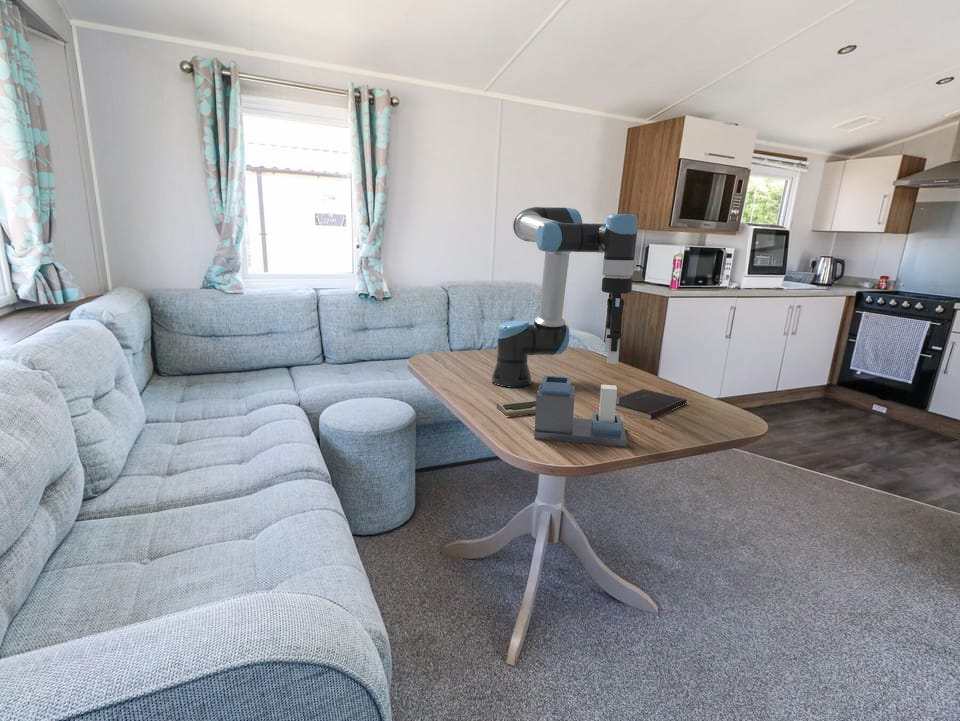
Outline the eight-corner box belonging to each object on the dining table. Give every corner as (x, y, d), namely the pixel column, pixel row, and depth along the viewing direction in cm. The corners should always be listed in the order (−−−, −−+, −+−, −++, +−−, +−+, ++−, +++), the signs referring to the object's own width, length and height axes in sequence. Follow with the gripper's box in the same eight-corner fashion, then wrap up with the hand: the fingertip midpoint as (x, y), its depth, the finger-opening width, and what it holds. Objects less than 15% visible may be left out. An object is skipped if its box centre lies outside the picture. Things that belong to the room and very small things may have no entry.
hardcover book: (606, 408, 159) (606, 401, 159) (642, 395, 174) (643, 388, 174) (651, 421, 148) (651, 414, 147) (686, 405, 163) (686, 399, 162)
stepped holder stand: (534, 438, 131) (536, 385, 128) (538, 421, 144) (540, 372, 141) (626, 447, 126) (631, 392, 123) (621, 428, 140) (626, 378, 136)
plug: (598, 430, 132) (601, 388, 129) (598, 425, 136) (601, 384, 133) (616, 432, 131) (620, 389, 129) (615, 427, 135) (619, 385, 132)
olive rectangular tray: (506, 419, 147) (506, 409, 146) (496, 411, 155) (496, 401, 154) (552, 413, 153) (552, 403, 152) (540, 406, 160) (540, 396, 159)
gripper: (638, 281, 112) (629, 369, 117) (628, 274, 136) (621, 348, 141) (604, 279, 113) (597, 367, 118) (600, 273, 137) (595, 347, 142)
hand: (610, 357), depth 129 cm, fingers open, 13 cm apart
